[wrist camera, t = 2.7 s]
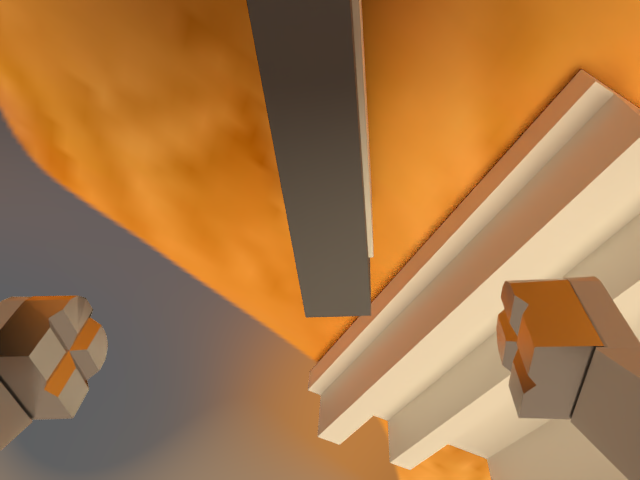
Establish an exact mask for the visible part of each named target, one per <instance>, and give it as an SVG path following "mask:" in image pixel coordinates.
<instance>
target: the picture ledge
mask: <svg viewBox="0 0 640 480" xmlns="http://www.w3.org/2000/svg"><path fill="white" fill-rule="evenodd" d="M590 276H595V277H596V278H598V279H599V280H600V281H601V282H602V284H603V285H604V287H605V288H606V290H607V292H608V293H609V295H610V296H611V298H612V299H613V301H614V303H615V304H616V306H617V307H618V309H619V310H620V312H621V313H622V315H623V317H624V318H625V320H626V321H627V323H628V324H629V326H630V328H631V329H632V331H633V332H634V334H635V335H636V337H637V339H638V340H639V342H640V108H638V107H637V106H635V105H634V104H632V103H631V102H629V101H628V100H626V99H625V98H623V97H622V96H620V95H619V94H618V93H616V92H615V91H613V90H612V89H610V88H609V87H607V86H606V85H604V84H603V83H601V82H600V81H598V80H597V79H595V78H594V77H593V76H591V75H590V74H588V73H587V72H585V71H584V70H582V69H581V70H580V71H579V72H578V73H577V74H576V75H575V77H574V78H573V79H572V80H571V81H570V82H569V83H568V84H567V85H566V87H565V88H564V89H563V90H562V91H561V92H560V93H559V94H558V96H557V97H556V98H555V99H554V100H553V101H552V102H551V103H550V104H549V106H548V107H547V108H546V109H545V110H544V111H543V112H542V113H541V114H540V116H539V117H538V118H537V119H536V120H535V121H534V122H533V123H532V124H531V126H530V127H529V128H528V129H527V130H526V131H525V132H524V133H523V135H522V136H521V137H520V138H519V139H518V140H517V141H516V142H515V143H514V145H513V146H512V147H511V148H510V149H509V150H508V151H507V152H506V153H505V155H504V156H503V157H502V158H501V159H500V160H499V161H498V162H497V164H496V165H495V166H494V167H493V168H492V169H491V170H490V171H489V172H488V174H487V175H486V176H485V177H484V178H483V179H482V180H481V181H480V182H479V184H478V185H477V186H476V187H475V188H474V189H473V190H472V191H471V192H470V194H469V195H468V196H467V197H466V198H465V199H464V200H463V201H462V203H461V204H460V205H459V206H458V207H457V208H456V209H455V210H454V211H453V213H452V214H451V215H450V216H449V217H448V218H447V219H446V220H445V221H444V223H443V224H442V225H441V226H440V227H439V228H438V229H437V230H436V232H435V233H434V234H433V235H432V236H431V237H430V238H429V239H428V240H427V242H426V243H425V244H424V245H423V246H422V247H421V248H420V249H419V250H418V252H417V253H416V254H415V255H414V256H413V257H412V258H411V259H410V261H409V262H408V263H407V264H406V265H405V266H404V267H403V268H402V269H401V271H400V272H399V273H398V274H397V275H396V276H395V277H394V278H393V279H392V281H391V282H390V283H389V284H388V285H387V286H386V287H385V288H384V289H383V291H382V292H381V293H380V294H379V295H378V296H377V297H376V298H375V300H374V301H373V302H372V303H371V316H359V317H358V318H357V320H356V321H355V322H354V323H353V324H352V325H351V326H350V327H349V329H348V330H347V331H346V332H345V333H344V334H343V335H342V336H341V337H340V339H339V340H338V341H337V342H336V343H335V344H334V345H333V346H332V347H331V349H330V350H329V351H328V352H327V353H326V354H325V355H324V356H323V357H322V359H321V360H320V361H319V362H318V363H317V364H316V365H315V366H314V368H313V369H312V370H311V371H310V375H309V385H308V390H309V391H312V392H314V393H317V394H319V395H321V400H320V413H319V426H318V437H320V438H323V439H325V440H329V441H331V442H334V443H337V444H339V445H340V444H341V443H342V442H343V441H344V440H346V439H347V438H348V437H349V436H350V435H351V434H352V433H354V432H355V431H356V430H357V429H358V428H359V427H361V426H362V425H363V424H364V423H365V422H367V421H368V420H369V419H370V418H371V417H372V416H373V415H374V416H376V417H379V418H382V419H384V420H387V421H388V434H389V455H390V463H392V464H395V465H398V466H401V467H403V468H406V469H409V470H411V469H412V468H414V467H415V466H417V465H418V464H420V463H421V462H422V461H424V460H425V459H427V458H428V457H430V456H431V455H433V454H434V453H436V452H437V451H439V450H440V449H441V448H443V447H444V446H446V445H447V444H449V445H452V446H454V447H457V448H460V449H462V450H465V451H467V452H470V453H473V454H475V455H478V456H480V457H483V458H486V459H487V462H488V466H489V471H490V476H491V480H628V479H627V478H626V477H625V476H624V475H623V474H622V473H621V472H620V471H619V470H618V469H617V468H616V467H615V466H614V465H613V464H612V463H611V462H610V461H609V460H608V459H607V458H606V457H605V456H604V455H603V454H602V453H601V452H600V451H599V450H598V449H597V448H596V447H595V446H594V445H593V444H592V443H591V442H590V441H589V440H588V439H587V438H586V437H585V436H584V435H583V434H582V433H581V432H580V431H579V430H578V429H577V428H576V427H575V426H574V425H573V424H572V423H571V422H570V421H571V419H539V418H518V415H517V411H516V408H515V405H514V402H513V399H512V395H511V392H510V389H509V386H508V385H509V380H510V374H511V372H510V371H509V370H508V369H507V368H505V367H504V366H503V365H502V362H501V359H500V355H499V351H498V345H497V331H496V327H497V318H498V314H499V313H501V312H502V311H503V310H504V306H503V303H502V300H501V292H502V287H503V284H504V282H505V281H512V280H536V279H560V278H561V279H564V278H571V277H590Z"/></svg>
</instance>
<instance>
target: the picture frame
mask: <svg viewBox="0 0 640 480" xmlns="http://www.w3.org/2000/svg"><path fill="white" fill-rule="evenodd" d="M247 6H248V11H249V16H250V22H251V27H252V32H253V38H254V43H255V48H256V54H257V59H258V64H259V70H260V75H261V81H262V86H263V91H264V97H265V102H266V107H267V113H268V118H269V123H270V129H271V134H272V139H273V145H274V150H275V155H276V161H277V166H278V171H279V177H280V182H281V187H282V193H283V198H284V203H285V209H286V214H287V219H288V225H289V230H290V236H291V241H292V246H293V252H294V257H295V262H296V268H297V273H298V278H299V284H300V289H301V294H302V300H303V305H304V310H305V316H306V317H339V316H371V286H370V257H373V224H372V190H371V170H370V151H369V133H368V114H367V95H366V77H365V58H364V40H363V21H362V2H361V0H247Z"/></svg>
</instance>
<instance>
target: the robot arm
mask: <svg viewBox="0 0 640 480" xmlns="http://www.w3.org/2000/svg"><path fill="white" fill-rule="evenodd" d="M501 300H502V303H503V306H504V310H503V311H502V312H501V313H499V314H498V318H497V327H496V331H497V345H498V351H499V355H500V359H501V362H502V365H503V366H504V367H505V368H507V369H508V370H509V371H510V372H511V374H510V380H509V385H508V386H509V389H510V392H511V395H512V399H513V402H514V405H515V408H516V411H517V415H518V418H539V419H571V421H570V422H571V423H572V424H573V425H574V426H575V427H576V428H577V429H578V430H579V431H580V432H581V433H582V434H583V435H584V436H585V437H586V438H587V439H588V440H589V441H590V442H591V443H592V444H593V445H594V446H595V447H596V448H597V449H598V450H599V451H600V452H601V453H602V454H603V455H604V456H605V457H606V458H607V459H608V460H609V461H610V462H611V463H612V464H613V465H614V466H615V467H616V468H617V469H618V470H619V471H620V472H621V473H622V474H623V475H624V476H625V477H626V478H627V479H628V480H640V342H639V340H638V339H637V337H636V335H635V334H634V332H633V331H632V329H631V328H630V326H629V324H628V323H627V321H626V320H625V318H624V317H623V315H622V313H621V312H620V310H619V309H618V307H617V306H616V304H615V303H614V301H613V299H612V298H611V296H610V295H609V293H608V292H607V290H606V288H605V287H604V285H603V284H602V282H601V281H600V280H599V279H598V278H596V277H595V276H590V277H571V278H564V279H561V278H560V279H536V280H512V281H505V282H504V284H503V287H502V292H501ZM92 311H93V309H92V308H91V306H90V304H89V302H88V301H87V299H86V298H84V297H80V296H33V297H10V298H8V299H5V300H3V301H1V302H0V450H2V449H3V448H4V447H5V446H6V445H7V444H8V443H9V442H11V441H12V440H13V439H14V438H15V437H16V436H17V435H18V434H19V433H21V432H22V431H23V430H24V429H25V428H26V427H27V426H28V425H30V424H31V423H32V420H33V419H65V418H66V419H68V418H73V417H74V415H75V414H76V412H77V410H78V408H79V406H80V405H81V403H82V401H83V399H84V397H85V396H86V394H87V392H88V390H89V387H88V383H87V380H88V379H89V378H90V377H92V376H93V375H94V374H95V373H97V372H98V371H99V370H100V368H101V366H102V364H103V363H104V361H105V359H106V353H107V347H108V342H107V337H106V333H105V331H104V330H103V327H102V326H101V325H100V324H99V323H97V322H96V321H94V320H93V319H91V318H90V317H91V314H92Z"/></svg>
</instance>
